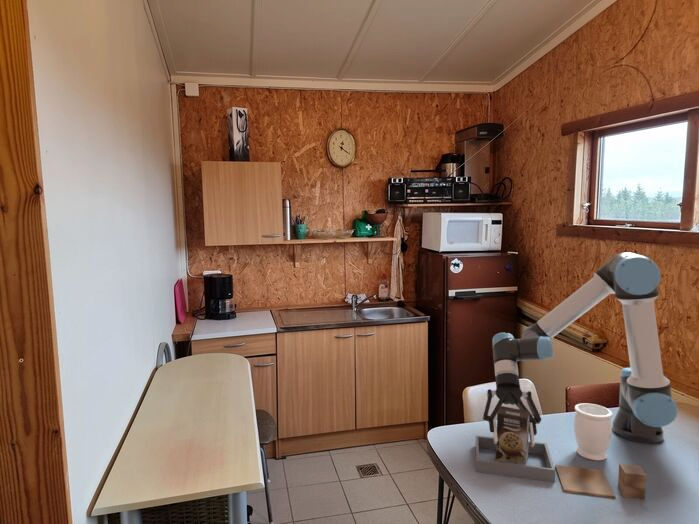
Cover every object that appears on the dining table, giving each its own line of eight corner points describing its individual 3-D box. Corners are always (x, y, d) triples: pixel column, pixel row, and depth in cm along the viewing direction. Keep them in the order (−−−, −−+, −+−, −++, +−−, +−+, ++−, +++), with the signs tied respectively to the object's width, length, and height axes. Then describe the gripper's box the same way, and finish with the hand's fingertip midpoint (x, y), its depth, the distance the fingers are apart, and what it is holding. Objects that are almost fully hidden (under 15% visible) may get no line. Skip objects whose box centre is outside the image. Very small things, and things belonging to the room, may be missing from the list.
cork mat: (602, 472, 136) (602, 470, 136) (615, 498, 123) (615, 496, 123) (555, 466, 139) (555, 464, 139) (563, 491, 127) (563, 489, 127)
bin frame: (546, 453, 147) (546, 443, 146) (555, 481, 131) (555, 470, 131) (475, 445, 152) (475, 435, 152) (476, 471, 137) (476, 460, 137)
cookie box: (495, 462, 142) (496, 412, 141) (498, 452, 148) (499, 405, 146) (526, 469, 138) (527, 418, 136) (528, 459, 144) (530, 410, 142)
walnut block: (637, 489, 128) (639, 465, 127) (644, 499, 123) (645, 475, 122) (618, 486, 129) (619, 463, 128) (623, 497, 124) (625, 473, 123)
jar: (568, 454, 146) (570, 410, 144) (578, 442, 153) (580, 400, 152) (605, 466, 139) (607, 419, 137) (614, 453, 146) (616, 408, 145)
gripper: (540, 383, 154) (551, 450, 140) (471, 379, 158) (475, 445, 144) (544, 373, 148) (556, 442, 134) (473, 370, 152) (477, 437, 138)
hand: (514, 444), depth 139 cm, fingers closed on cookie box, 10 cm apart
